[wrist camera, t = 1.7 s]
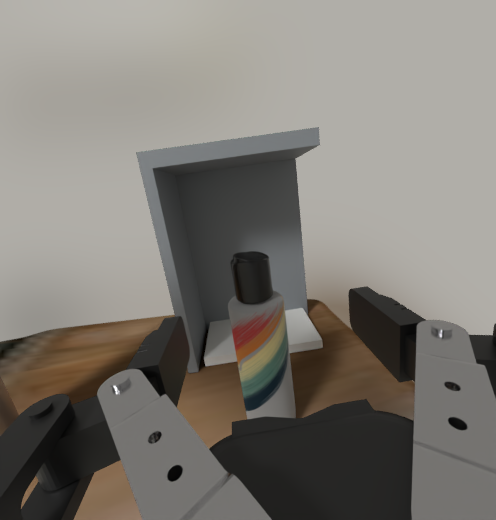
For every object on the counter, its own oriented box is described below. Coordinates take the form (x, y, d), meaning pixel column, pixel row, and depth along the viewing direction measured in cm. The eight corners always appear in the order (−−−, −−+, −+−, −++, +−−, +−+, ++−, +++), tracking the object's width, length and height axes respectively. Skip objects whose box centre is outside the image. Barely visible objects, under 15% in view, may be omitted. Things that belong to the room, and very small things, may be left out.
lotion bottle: (248, 400, 32) (222, 250, 27) (292, 395, 32) (275, 243, 26) (247, 443, 26) (215, 265, 21) (300, 438, 26) (281, 256, 21)
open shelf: (188, 373, 38) (136, 152, 30) (200, 326, 52) (166, 165, 44) (331, 350, 39) (318, 127, 31) (305, 310, 52) (292, 147, 44)
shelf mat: (205, 366, 39) (203, 358, 39) (211, 328, 51) (210, 322, 50) (322, 347, 40) (322, 339, 40) (303, 314, 51) (302, 307, 51)
